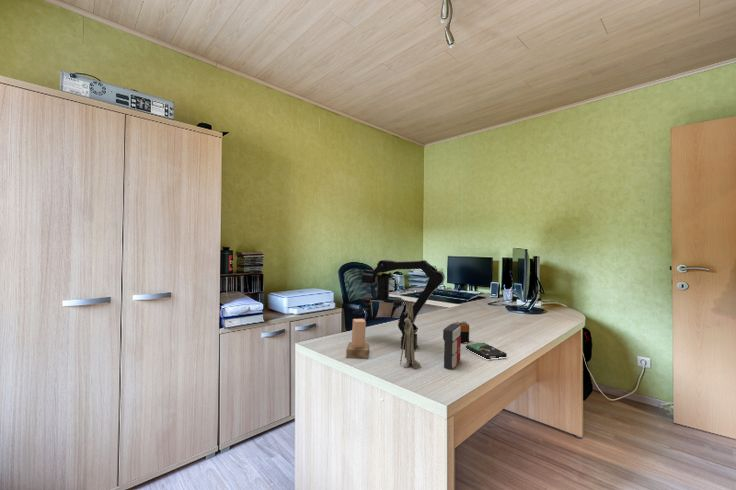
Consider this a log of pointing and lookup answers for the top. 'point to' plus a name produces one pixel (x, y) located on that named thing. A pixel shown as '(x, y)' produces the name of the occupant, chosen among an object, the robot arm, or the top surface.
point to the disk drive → (486, 350)
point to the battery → (464, 331)
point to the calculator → (451, 345)
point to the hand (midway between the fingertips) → (381, 317)
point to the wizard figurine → (409, 340)
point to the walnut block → (357, 351)
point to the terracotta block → (358, 333)
